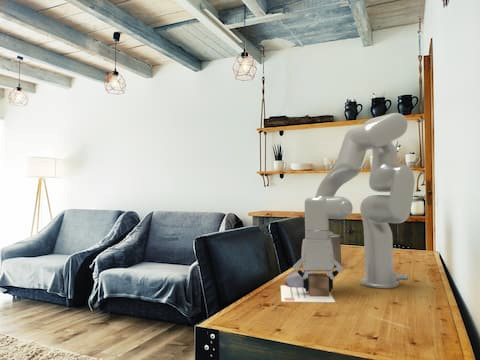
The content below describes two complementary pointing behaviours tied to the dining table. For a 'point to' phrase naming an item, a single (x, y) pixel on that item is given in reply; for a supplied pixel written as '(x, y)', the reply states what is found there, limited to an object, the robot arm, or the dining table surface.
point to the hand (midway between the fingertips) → (318, 290)
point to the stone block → (295, 279)
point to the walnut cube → (318, 284)
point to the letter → (301, 295)
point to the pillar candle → (336, 248)
